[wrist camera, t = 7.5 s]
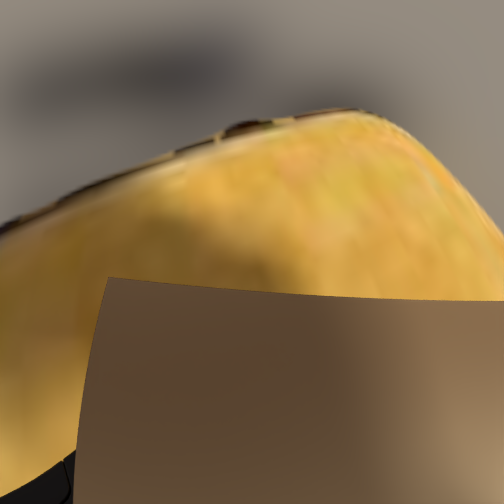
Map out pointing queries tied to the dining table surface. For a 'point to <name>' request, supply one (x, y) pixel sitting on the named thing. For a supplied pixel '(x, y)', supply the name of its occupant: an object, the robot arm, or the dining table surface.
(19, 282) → the dining table surface
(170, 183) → the dining table surface
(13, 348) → the dining table surface
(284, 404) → the block
